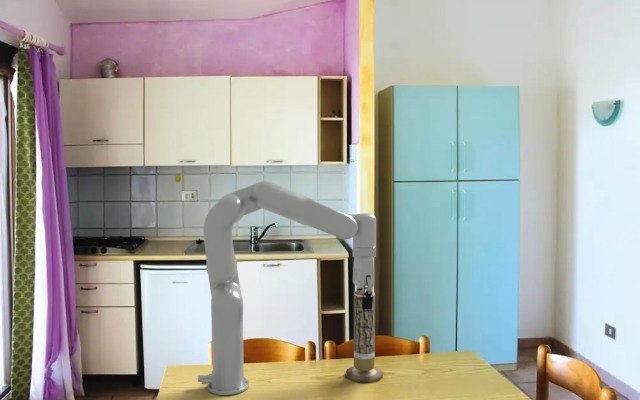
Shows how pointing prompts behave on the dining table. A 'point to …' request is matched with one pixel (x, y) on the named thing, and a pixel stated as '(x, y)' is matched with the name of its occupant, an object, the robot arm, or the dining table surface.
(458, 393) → the dining table surface
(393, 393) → the dining table surface
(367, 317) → the bark-patterned cylinder
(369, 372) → the base
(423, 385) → the dining table surface
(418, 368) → the dining table surface
